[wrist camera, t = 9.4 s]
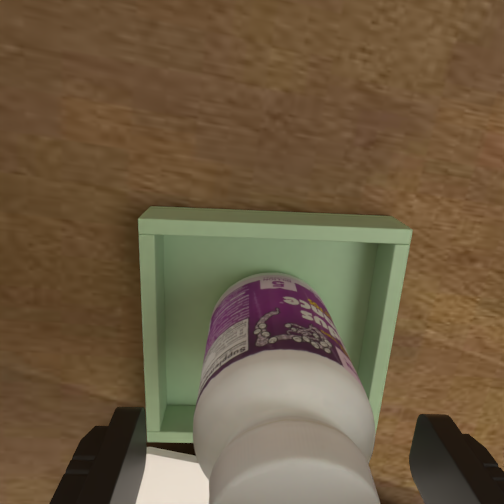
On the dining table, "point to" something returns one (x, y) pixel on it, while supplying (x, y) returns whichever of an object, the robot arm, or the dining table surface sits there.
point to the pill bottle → (281, 401)
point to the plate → (172, 479)
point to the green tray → (250, 263)
